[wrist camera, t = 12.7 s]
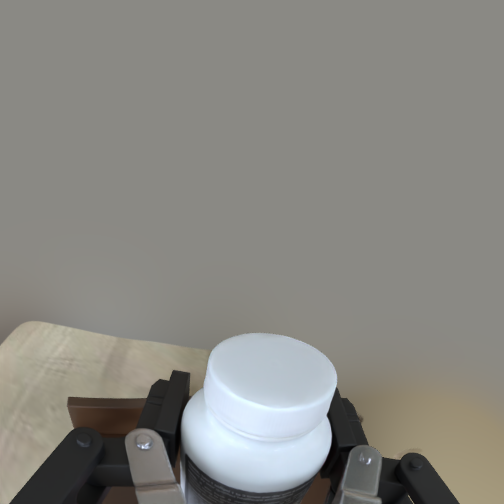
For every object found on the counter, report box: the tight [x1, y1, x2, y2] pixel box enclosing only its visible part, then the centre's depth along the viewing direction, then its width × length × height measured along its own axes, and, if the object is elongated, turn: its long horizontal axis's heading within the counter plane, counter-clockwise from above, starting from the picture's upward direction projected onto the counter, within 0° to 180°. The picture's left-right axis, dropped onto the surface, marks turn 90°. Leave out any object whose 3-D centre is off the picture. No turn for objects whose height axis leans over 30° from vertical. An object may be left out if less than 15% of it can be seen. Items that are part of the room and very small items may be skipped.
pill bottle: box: [180, 333, 337, 504], centre depth 10 cm, size 5×5×10 cm
